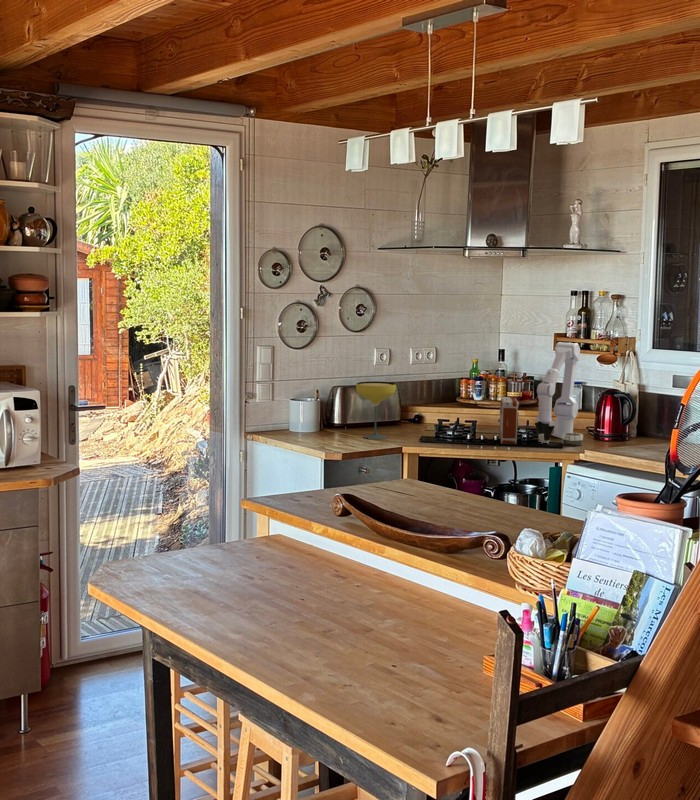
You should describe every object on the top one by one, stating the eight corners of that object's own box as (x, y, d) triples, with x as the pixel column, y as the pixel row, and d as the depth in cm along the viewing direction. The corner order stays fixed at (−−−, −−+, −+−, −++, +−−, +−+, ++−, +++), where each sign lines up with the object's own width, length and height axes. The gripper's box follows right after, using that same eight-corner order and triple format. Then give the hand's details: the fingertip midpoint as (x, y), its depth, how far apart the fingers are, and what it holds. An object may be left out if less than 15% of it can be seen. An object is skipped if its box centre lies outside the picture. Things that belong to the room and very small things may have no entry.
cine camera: (516, 438, 464) (517, 395, 461) (519, 445, 445) (520, 400, 442) (496, 437, 465) (497, 394, 462) (498, 445, 446) (499, 400, 443)
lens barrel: (558, 442, 452) (558, 433, 452) (576, 442, 455) (577, 432, 454) (567, 446, 444) (568, 436, 443) (586, 445, 446) (586, 435, 445)
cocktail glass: (388, 433, 472) (389, 380, 469) (400, 440, 455) (400, 385, 452) (351, 435, 468) (351, 381, 464) (361, 441, 450) (362, 386, 447)
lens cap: (536, 441, 455) (536, 433, 454) (546, 441, 456) (546, 433, 456) (541, 443, 450) (541, 435, 450) (551, 443, 451) (551, 435, 451)
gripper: (529, 407, 457) (528, 436, 459) (544, 412, 443) (543, 442, 445) (544, 407, 459) (543, 436, 461) (558, 411, 445) (557, 441, 447)
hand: (544, 439), depth 453 cm, fingers closed on lens cap, 5 cm apart
